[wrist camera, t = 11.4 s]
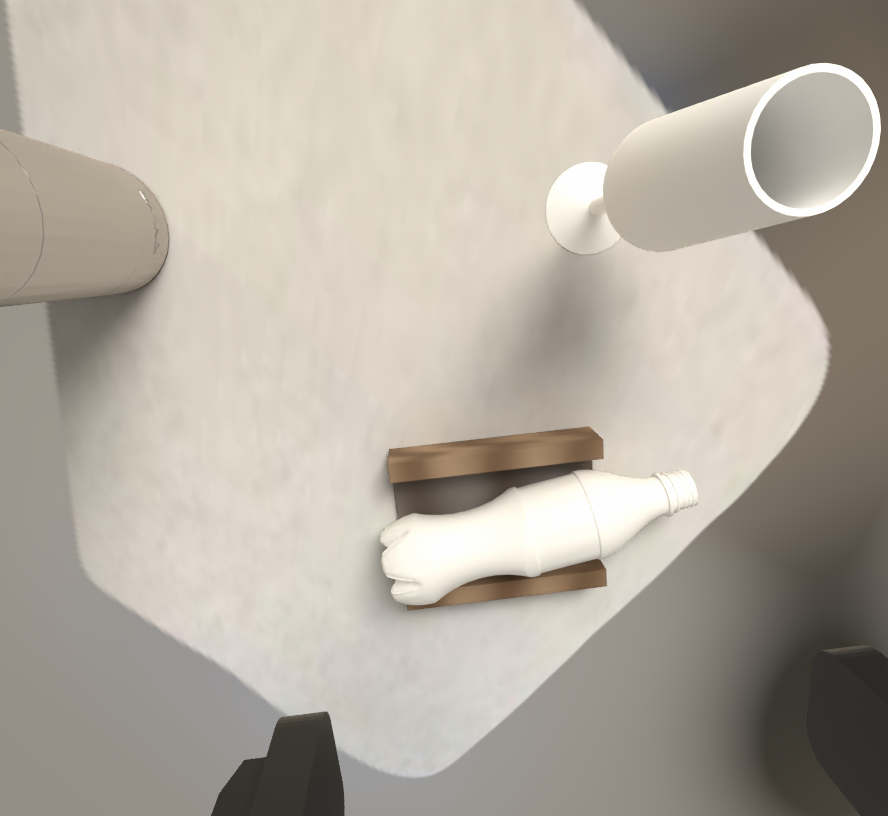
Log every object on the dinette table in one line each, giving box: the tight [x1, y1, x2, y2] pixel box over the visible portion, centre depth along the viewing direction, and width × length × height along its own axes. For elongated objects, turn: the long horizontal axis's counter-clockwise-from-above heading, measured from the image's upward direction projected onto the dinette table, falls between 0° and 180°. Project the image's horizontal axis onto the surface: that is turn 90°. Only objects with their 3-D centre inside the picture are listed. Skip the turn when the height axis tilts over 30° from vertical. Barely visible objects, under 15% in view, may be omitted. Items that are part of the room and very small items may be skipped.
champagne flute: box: [546, 63, 881, 255], centre depth 30 cm, size 7×7×24 cm
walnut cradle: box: [388, 427, 607, 610], centre depth 46 cm, size 17×13×4 cm
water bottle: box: [380, 470, 698, 605], centre depth 44 cm, size 7×7×25 cm
